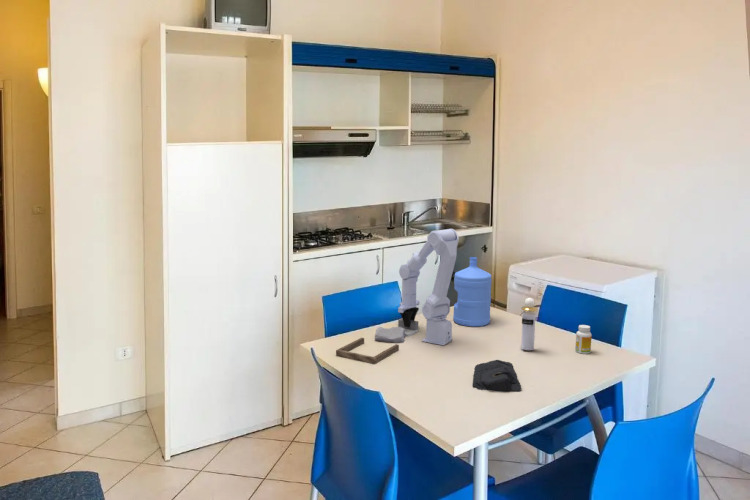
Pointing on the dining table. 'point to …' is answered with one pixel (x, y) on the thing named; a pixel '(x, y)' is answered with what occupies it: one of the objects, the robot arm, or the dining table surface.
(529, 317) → the perfume bottle
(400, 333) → the stone block
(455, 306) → the water jug
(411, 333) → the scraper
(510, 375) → the crumpled black cloth
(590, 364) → the dining table surface
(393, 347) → the dock
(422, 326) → the dining table surface
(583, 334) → the supplement bottle
